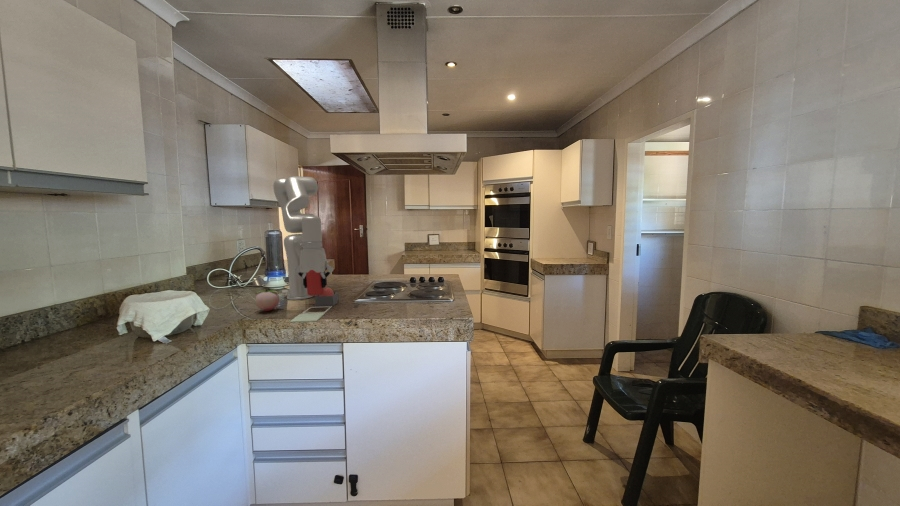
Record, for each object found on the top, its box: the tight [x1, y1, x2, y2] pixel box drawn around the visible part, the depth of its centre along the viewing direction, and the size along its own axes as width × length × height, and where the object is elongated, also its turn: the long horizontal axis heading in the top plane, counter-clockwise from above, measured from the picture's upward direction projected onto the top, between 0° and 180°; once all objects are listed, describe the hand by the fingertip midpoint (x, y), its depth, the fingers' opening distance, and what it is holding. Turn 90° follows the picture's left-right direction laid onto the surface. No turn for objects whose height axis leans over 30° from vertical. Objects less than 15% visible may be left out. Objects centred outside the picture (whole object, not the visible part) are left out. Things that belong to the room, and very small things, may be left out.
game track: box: [289, 291, 339, 323], centre depth 142 cm, size 10×30×4 cm, turn 3°
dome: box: [319, 286, 334, 296], centre depth 152 cm, size 6×6×6 cm
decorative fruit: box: [254, 287, 281, 312], centre depth 142 cm, size 9×8×10 cm
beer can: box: [306, 270, 325, 297], centre depth 142 cm, size 7×7×12 cm
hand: (315, 286), depth 143 cm, fingers closed on beer can, 6 cm apart
